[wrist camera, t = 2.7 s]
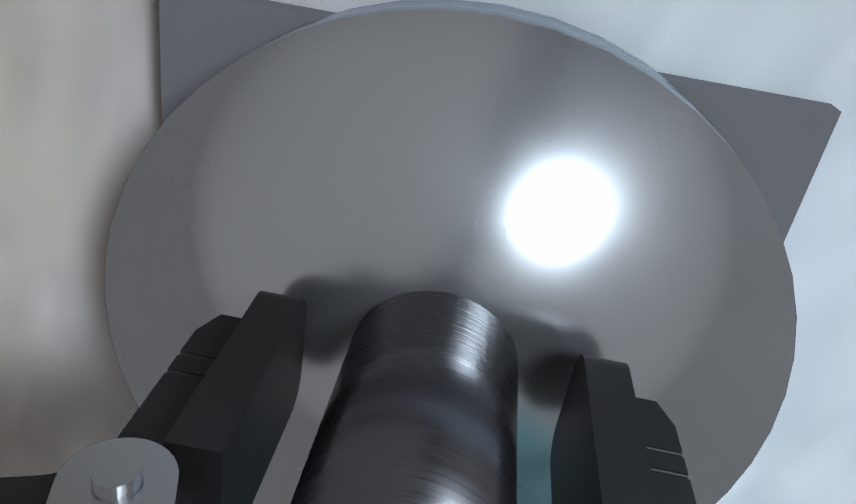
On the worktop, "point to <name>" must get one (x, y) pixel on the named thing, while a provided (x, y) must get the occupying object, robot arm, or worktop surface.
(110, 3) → the worktop surface
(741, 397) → the lid
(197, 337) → the robot arm
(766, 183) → the mat
